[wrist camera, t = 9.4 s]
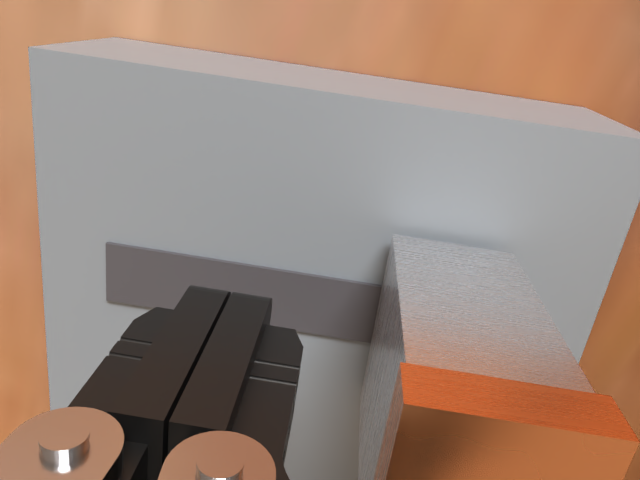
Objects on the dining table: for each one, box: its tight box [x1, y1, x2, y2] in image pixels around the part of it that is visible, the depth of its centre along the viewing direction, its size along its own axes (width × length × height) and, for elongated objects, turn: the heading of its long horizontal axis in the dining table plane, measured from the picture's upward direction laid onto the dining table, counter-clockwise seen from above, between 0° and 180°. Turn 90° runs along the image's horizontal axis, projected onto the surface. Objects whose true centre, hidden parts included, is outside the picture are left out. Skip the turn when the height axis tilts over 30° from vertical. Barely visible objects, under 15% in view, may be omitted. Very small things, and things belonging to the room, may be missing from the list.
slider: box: [358, 234, 640, 480], centre depth 10 cm, size 3×4×5 cm, turn 172°
